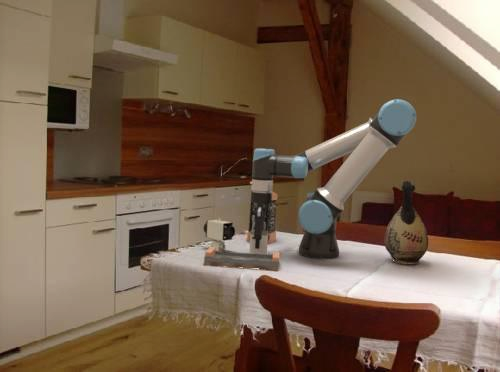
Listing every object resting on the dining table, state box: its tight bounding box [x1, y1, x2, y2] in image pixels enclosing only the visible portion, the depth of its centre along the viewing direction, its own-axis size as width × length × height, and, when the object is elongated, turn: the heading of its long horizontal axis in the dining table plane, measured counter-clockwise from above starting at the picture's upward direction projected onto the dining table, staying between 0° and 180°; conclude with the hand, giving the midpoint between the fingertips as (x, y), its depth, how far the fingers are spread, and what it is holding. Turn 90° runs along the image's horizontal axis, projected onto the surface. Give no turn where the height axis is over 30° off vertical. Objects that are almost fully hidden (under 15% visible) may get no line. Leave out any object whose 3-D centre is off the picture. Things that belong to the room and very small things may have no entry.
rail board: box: [203, 246, 281, 272], centre depth 173 cm, size 24×12×4 cm, turn 84°
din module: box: [248, 230, 269, 255], centre depth 187 cm, size 6×5×9 cm
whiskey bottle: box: [246, 190, 279, 245], centre depth 215 cm, size 10×10×32 cm
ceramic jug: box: [383, 180, 429, 265], centre depth 189 cm, size 17×15×30 cm
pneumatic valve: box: [203, 217, 236, 252], centre depth 193 cm, size 6×12×12 cm, turn 53°
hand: (257, 254), depth 188 cm, fingers open, 7 cm apart
